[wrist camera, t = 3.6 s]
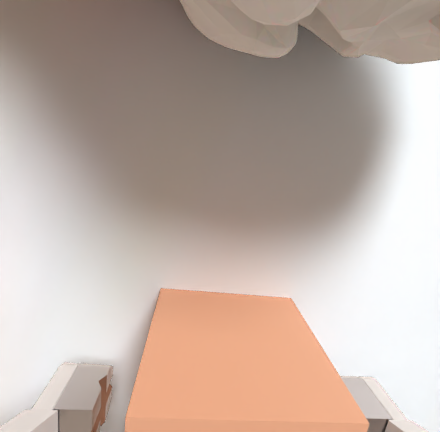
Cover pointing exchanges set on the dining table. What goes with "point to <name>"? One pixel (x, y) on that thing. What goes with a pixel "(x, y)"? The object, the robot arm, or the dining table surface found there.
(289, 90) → the dining table surface
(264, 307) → the terracotta block
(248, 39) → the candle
